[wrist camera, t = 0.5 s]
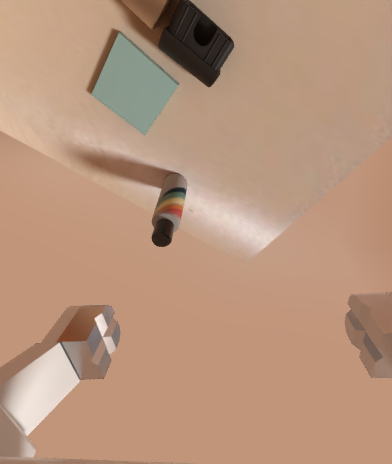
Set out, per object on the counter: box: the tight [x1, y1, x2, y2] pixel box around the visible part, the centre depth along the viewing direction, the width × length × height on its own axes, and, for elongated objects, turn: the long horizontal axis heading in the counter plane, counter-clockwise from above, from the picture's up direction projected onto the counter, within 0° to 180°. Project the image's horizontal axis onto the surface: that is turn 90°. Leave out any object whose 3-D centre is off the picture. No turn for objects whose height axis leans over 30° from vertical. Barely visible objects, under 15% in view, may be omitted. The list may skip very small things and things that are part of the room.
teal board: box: [91, 32, 179, 135], centre depth 47 cm, size 12×12×1 cm
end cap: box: [158, 0, 234, 87], centre depth 39 cm, size 10×7×7 cm
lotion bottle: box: [152, 174, 187, 247], centre depth 54 cm, size 6×6×20 cm
